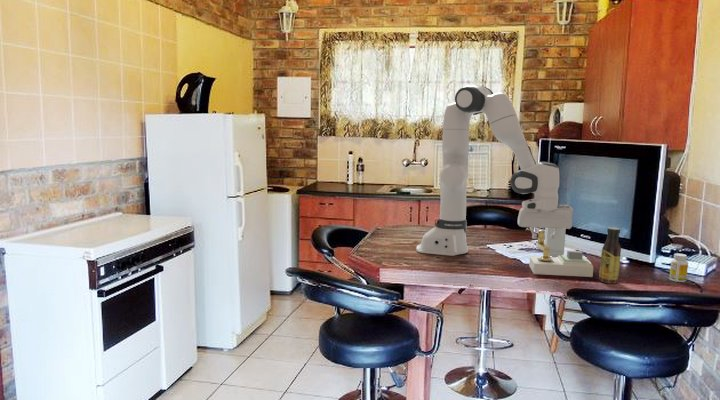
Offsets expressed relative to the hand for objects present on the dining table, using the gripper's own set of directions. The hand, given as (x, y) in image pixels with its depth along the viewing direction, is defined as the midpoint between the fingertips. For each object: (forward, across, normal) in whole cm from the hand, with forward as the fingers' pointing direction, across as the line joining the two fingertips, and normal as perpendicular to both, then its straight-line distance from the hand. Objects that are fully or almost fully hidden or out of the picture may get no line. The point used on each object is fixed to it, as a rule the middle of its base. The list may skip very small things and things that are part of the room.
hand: (543, 238), depth 214 cm
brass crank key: (+7, 0, +4) cm, 8 cm away
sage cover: (+7, -10, +6) cm, 14 cm away
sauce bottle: (+11, -20, +18) cm, 29 cm away
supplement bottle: (+11, -46, +10) cm, 49 cm away
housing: (+11, -6, +6) cm, 14 cm away
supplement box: (+11, -8, -18) cm, 23 cm away
